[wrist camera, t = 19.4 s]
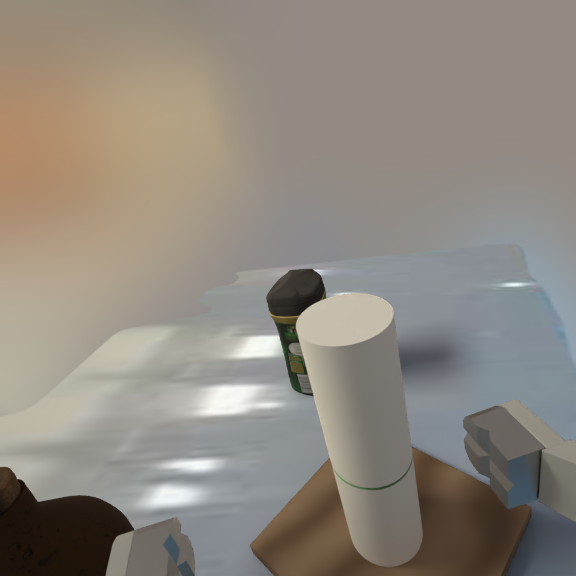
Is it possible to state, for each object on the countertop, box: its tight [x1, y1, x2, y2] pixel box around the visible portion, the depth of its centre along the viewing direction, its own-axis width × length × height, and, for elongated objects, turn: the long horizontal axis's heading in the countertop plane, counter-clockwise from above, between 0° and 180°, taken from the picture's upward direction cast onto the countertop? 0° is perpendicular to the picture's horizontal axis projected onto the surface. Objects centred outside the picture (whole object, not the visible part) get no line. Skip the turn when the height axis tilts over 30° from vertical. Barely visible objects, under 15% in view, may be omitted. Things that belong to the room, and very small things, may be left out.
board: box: [250, 447, 531, 576], centre depth 39 cm, size 20×20×2 cm
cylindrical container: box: [296, 293, 423, 567], centre depth 34 cm, size 7×7×25 cm
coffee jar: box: [266, 269, 326, 395], centre depth 60 cm, size 10×8×19 cm
